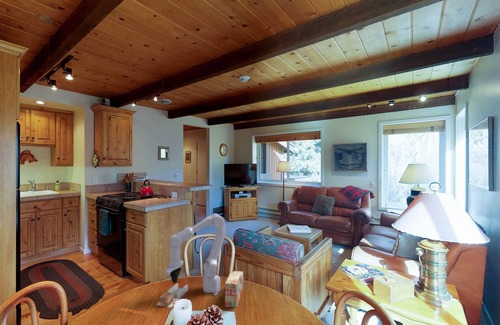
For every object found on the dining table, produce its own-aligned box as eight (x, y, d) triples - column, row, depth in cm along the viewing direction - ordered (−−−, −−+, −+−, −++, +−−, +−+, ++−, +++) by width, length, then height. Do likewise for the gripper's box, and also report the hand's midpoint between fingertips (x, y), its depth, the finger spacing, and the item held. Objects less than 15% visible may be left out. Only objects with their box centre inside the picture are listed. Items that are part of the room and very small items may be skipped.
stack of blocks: (233, 286, 138) (233, 265, 138) (243, 287, 137) (243, 266, 137) (224, 307, 117) (224, 282, 117) (236, 308, 116) (236, 283, 116)
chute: (188, 291, 131) (189, 285, 132) (171, 309, 114) (171, 302, 114) (175, 289, 134) (175, 283, 134) (155, 306, 116) (155, 299, 116)
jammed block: (173, 301, 120) (173, 293, 120) (167, 306, 115) (167, 298, 115) (165, 299, 121) (165, 292, 121) (159, 305, 116) (159, 297, 116)
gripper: (175, 252, 133) (175, 275, 133) (160, 261, 119) (160, 287, 119) (186, 253, 132) (186, 276, 131) (172, 262, 118) (172, 289, 117)
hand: (174, 282), depth 125 cm, fingers closed
